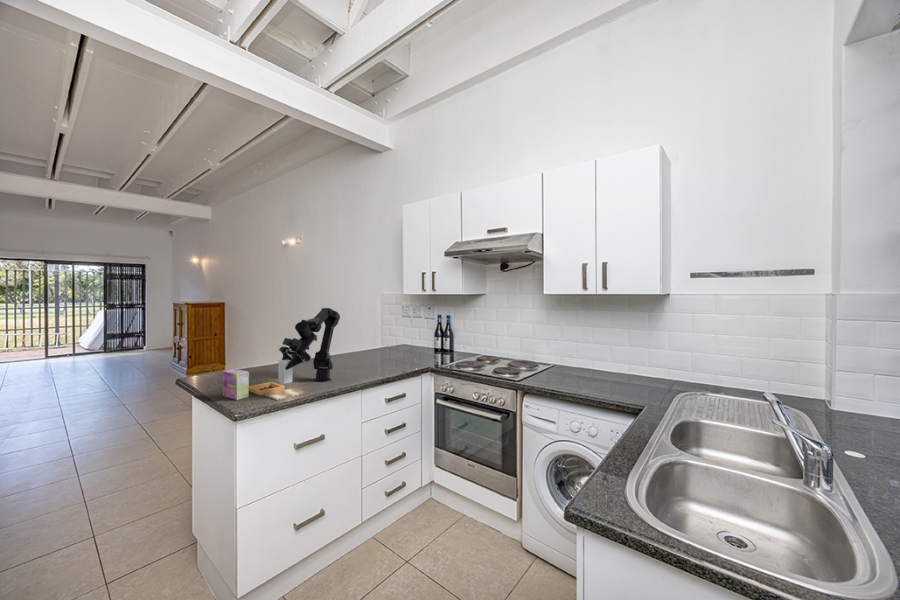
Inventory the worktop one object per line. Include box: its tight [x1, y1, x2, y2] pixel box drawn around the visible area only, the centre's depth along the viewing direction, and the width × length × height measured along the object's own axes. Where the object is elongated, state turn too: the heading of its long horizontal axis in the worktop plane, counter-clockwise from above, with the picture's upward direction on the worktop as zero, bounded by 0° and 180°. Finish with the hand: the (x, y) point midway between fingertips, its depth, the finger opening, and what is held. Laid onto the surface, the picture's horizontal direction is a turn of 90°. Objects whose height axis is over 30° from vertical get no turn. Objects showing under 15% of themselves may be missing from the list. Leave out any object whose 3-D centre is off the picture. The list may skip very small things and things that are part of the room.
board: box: [264, 387, 306, 401], centre depth 171 cm, size 14×10×1 cm
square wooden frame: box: [249, 381, 286, 396], centre depth 176 cm, size 12×12×2 cm
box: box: [222, 368, 250, 401], centre depth 165 cm, size 10×6×12 cm, turn 62°
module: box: [277, 359, 294, 385], centre depth 170 cm, size 4×5×10 cm
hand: (282, 368), depth 169 cm, fingers closed on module, 5 cm apart
